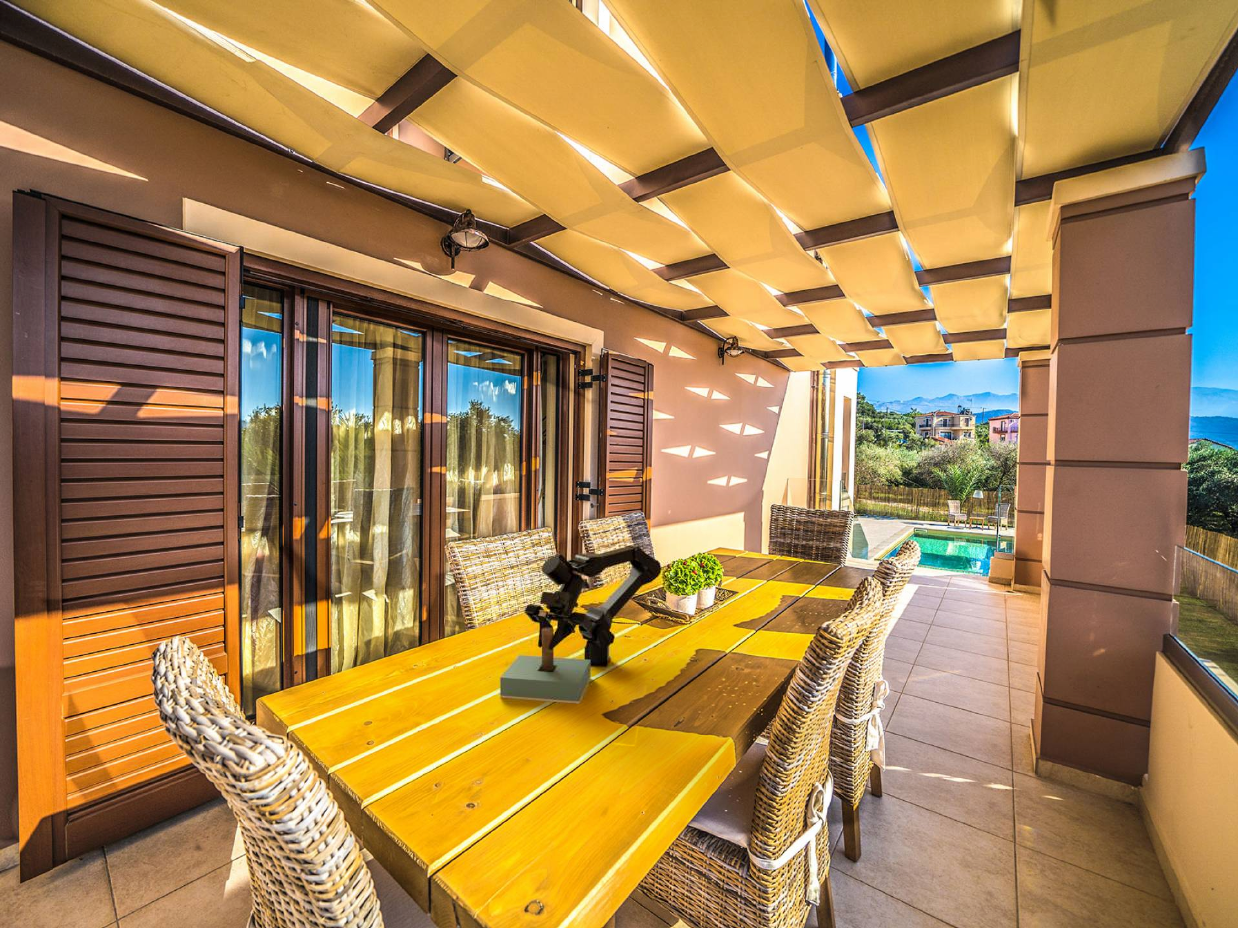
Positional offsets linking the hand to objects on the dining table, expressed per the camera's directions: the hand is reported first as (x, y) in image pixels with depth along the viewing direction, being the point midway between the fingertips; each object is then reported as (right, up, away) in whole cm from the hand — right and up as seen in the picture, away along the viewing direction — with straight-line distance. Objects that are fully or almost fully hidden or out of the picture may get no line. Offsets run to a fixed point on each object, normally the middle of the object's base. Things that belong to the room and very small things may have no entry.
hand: (544, 648), depth 129 cm
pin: (+1, -7, +1) cm, 7 cm away
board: (+1, -11, +1) cm, 11 cm away
